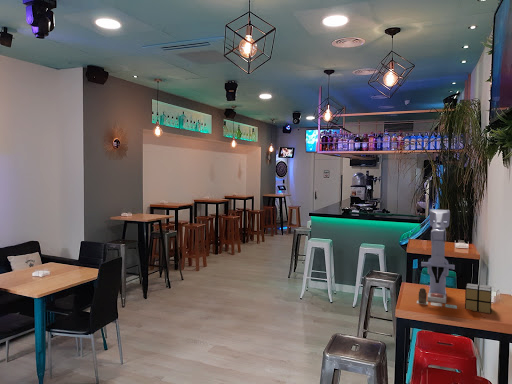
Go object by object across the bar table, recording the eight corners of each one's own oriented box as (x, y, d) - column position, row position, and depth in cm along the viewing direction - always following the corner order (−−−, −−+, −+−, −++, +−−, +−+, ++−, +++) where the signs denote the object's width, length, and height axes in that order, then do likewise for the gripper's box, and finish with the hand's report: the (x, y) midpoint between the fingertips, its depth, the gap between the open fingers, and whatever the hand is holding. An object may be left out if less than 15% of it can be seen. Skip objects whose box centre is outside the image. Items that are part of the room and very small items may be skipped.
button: (431, 298, 190) (431, 292, 190) (442, 299, 188) (442, 293, 188) (431, 301, 186) (431, 294, 186) (442, 302, 184) (442, 296, 184)
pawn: (418, 300, 185) (419, 286, 184) (426, 302, 183) (426, 287, 183) (418, 302, 182) (418, 288, 181) (426, 303, 180) (426, 289, 180)
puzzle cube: (466, 304, 183) (466, 283, 182) (490, 308, 178) (491, 286, 177) (464, 310, 174) (465, 287, 174) (491, 314, 169) (491, 291, 169)
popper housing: (428, 297, 192) (428, 292, 192) (446, 299, 189) (446, 294, 189) (427, 302, 185) (427, 296, 185) (446, 304, 182) (446, 299, 182)
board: (415, 301, 186) (415, 299, 186) (458, 306, 178) (458, 305, 178) (415, 304, 181) (415, 303, 181) (458, 310, 173) (458, 309, 173)
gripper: (421, 254, 186) (420, 282, 186) (455, 257, 180) (454, 286, 180) (421, 252, 192) (421, 279, 193) (454, 254, 186) (454, 283, 186)
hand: (437, 282), depth 187 cm, fingers closed
